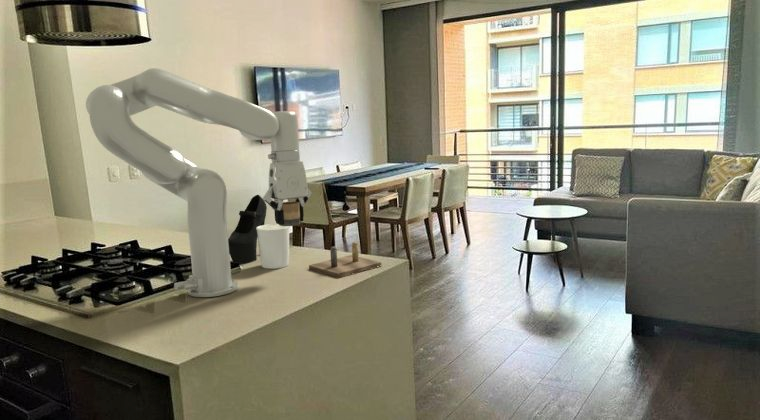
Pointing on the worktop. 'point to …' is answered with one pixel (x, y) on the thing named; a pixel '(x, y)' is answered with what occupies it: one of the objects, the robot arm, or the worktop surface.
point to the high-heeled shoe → (247, 231)
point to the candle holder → (273, 245)
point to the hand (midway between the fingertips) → (289, 221)
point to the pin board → (344, 263)
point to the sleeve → (291, 213)
